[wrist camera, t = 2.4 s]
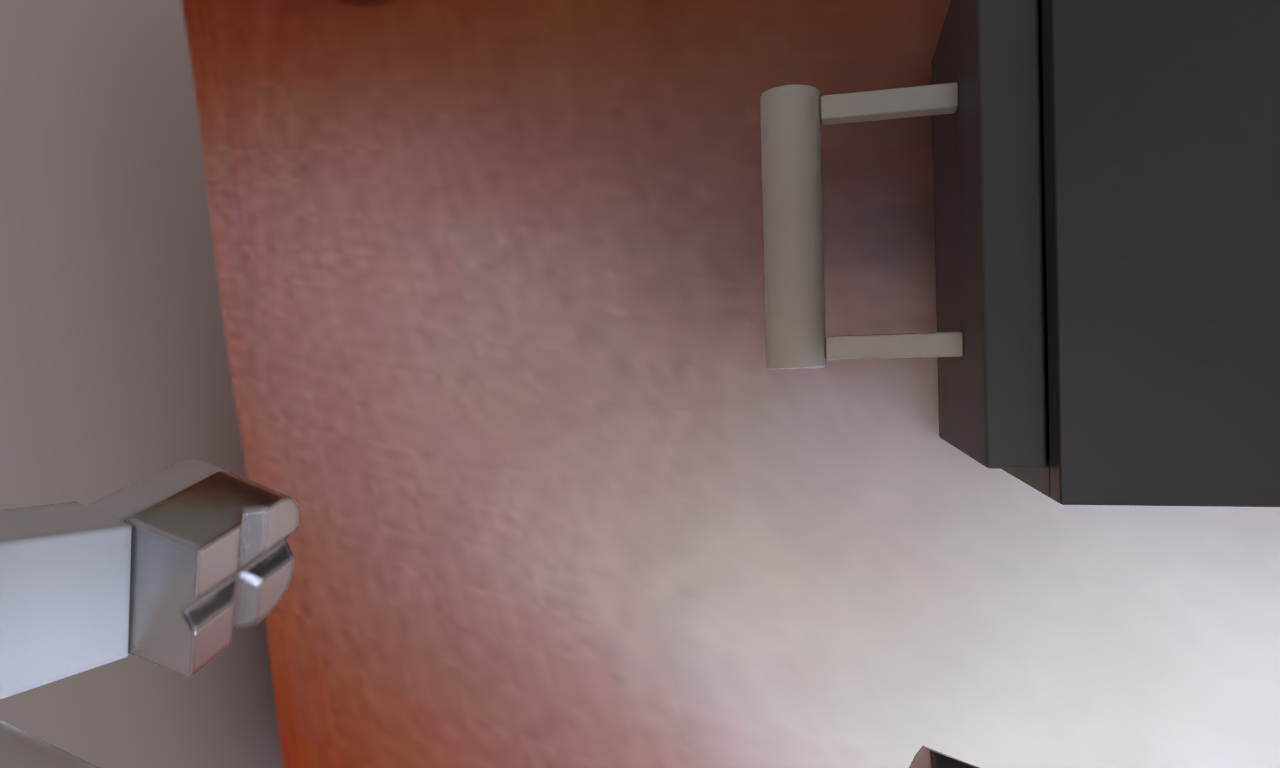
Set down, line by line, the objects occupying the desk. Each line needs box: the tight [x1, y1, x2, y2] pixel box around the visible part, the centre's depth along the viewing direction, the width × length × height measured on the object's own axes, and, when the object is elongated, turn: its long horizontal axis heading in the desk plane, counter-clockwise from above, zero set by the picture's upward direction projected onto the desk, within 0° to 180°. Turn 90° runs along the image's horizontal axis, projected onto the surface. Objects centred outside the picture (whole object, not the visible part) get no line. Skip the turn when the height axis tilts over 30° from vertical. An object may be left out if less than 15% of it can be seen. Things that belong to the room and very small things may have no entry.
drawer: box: [760, 0, 1049, 468], centre depth 20 cm, size 17×11×8 cm, turn 92°
